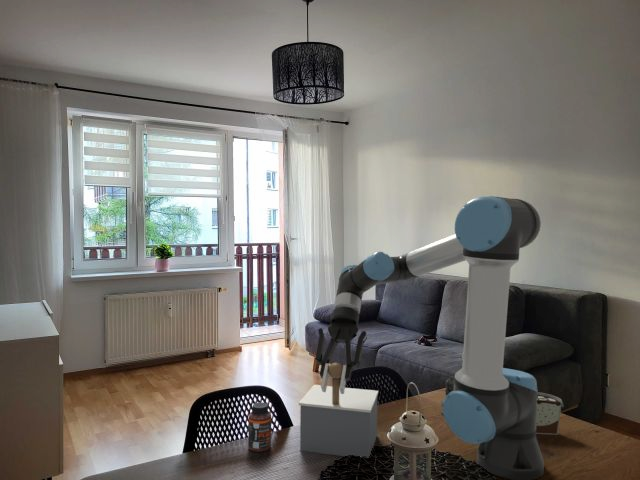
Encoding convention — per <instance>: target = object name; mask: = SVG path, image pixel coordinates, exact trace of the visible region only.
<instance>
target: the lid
mask: <svg viewBox="0 0 640 480" xmlns="http://www.w3.org/2000/svg"><path fill="white" fill-rule="evenodd" d="M342 370H343V365H342V364H341V363H339V362H333V363H331V364H329V368H328V373H329V377H330V378H332V379H331V380H332V383H331V384H332V385H327V388H326V392H323V391H322V388H321V385H319V384H313V385H312V387H310V389H309V390H308V391H307V392H306V394H304V396H303V397H302V399H300V400H299V402H298V406H301V405H302V406H311V407H321V408H330V409H339V410H349V411H358V412H368V413H371V410H372V408H373V405H374V403H375V400H376V398H377V399H378V395H379V390H374V389H363V388H354V387H353V388H351V387H345V391H344V394H341V392H340V389H339V388H340V379H341V376H342Z"/></svg>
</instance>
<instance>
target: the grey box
mask: <svg viewBox="0 0 640 480" xmlns="http://www.w3.org/2000/svg"><path fill="white" fill-rule="evenodd" d="M299 412H300V418H299V420H300V422H299V424H300V427H299V431H300V433H299V434H300V437H299V438H300V442H299V443H300V444H299V445H300V449H299V450H300V451H302V452H309V453H315V454H324V455H329V456H330V455H331V456H338V457H345V456H348V455H356V456H366V457H369V456H370V453H371V450H372V448H373V449H374V446H375V443H376V440H377V437H378V436H377V435H378V397H377V398H376V400H375V403H374V405H373V408H372V410H371V413H368V412H358V411H349V410H339V409H330V408H321V407H311V406H302V405H300V411H299ZM372 451H373V450H372ZM371 454H372V453H371ZM370 457H371V456H370Z"/></svg>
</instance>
